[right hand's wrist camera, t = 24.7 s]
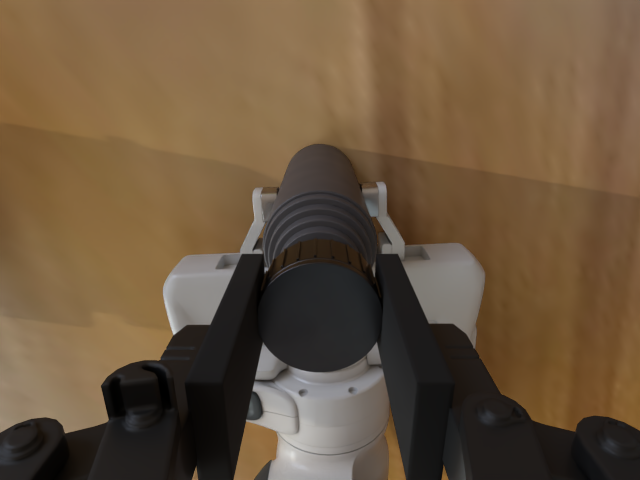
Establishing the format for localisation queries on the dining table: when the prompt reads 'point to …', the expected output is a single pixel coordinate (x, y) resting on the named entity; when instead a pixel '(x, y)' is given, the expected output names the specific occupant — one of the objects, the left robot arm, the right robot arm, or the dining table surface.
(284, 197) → the bottle
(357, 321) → the cap
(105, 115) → the dining table surface
